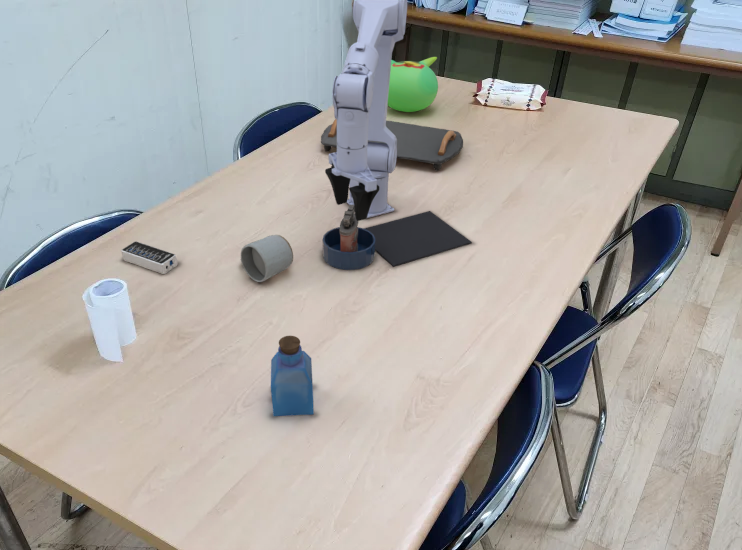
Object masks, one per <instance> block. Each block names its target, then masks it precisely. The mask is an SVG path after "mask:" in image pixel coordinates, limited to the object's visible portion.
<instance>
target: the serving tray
mask: <svg viewBox="0 0 742 550" xmlns="http://www.w3.org/2000/svg"><path fill="white" fill-rule="evenodd" d="M386 127H387V128H388V129H389V130H390V131H391V132H392V133H393V134H394V135H395V136H396V139H397V158H396V159H400V160H410V161H414V162H420V163H426V164H432V168H433V169H434V171H436V172H439V171H440V170H441V168H442V164H443V163H445V162H449V160H452V159H453V158H454V157H456V156H457V155H459V153H460V152H461V151H462V149H463V148H464V139H463V137H462V134H461V132H459V131H457V130H451V129H445V128H438V127H433V126H427V125H418V124H412V123H407V122H400V121H393V120H386ZM368 142H378V143H385V142H379V141H369V140H368ZM320 144H321V145H322V146H323V150H324V152H327V153H329V152H330V151H331V150H332V148H337V119H335V118H334V121H333V122H332V123H331V124H330V125H328V126H327V127H326V128H324V130H323V132H322V134H321V135H320ZM330 153H331V152H330Z"/></svg>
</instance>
